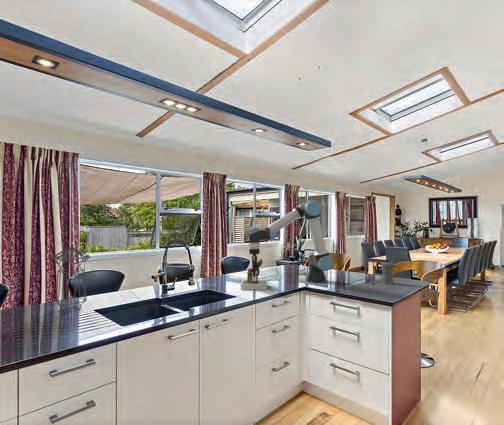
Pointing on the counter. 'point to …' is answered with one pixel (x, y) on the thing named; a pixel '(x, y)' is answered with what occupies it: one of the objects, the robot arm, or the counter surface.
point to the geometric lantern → (70, 272)
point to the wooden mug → (249, 277)
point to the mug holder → (255, 285)
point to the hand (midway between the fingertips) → (254, 279)
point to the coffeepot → (386, 272)
